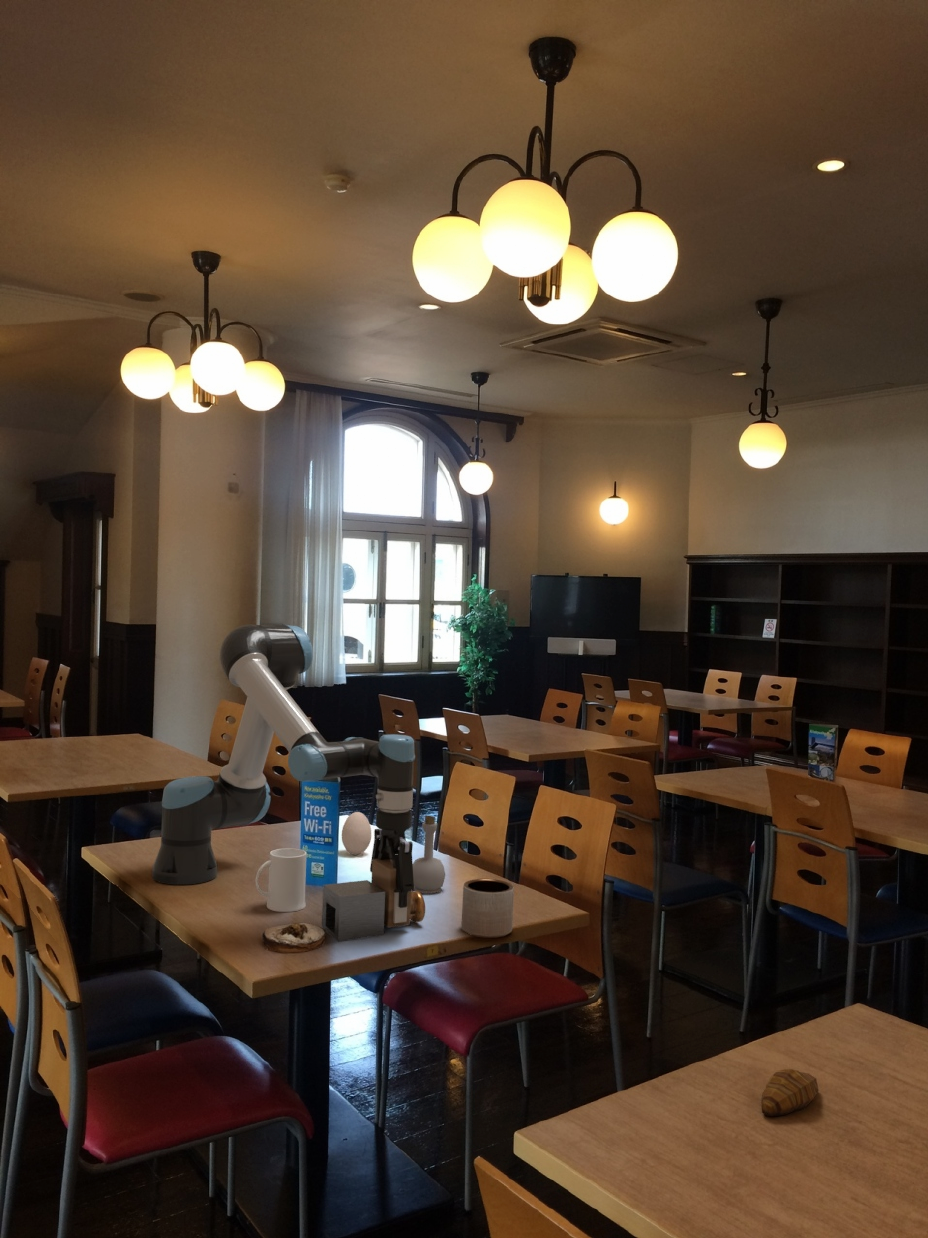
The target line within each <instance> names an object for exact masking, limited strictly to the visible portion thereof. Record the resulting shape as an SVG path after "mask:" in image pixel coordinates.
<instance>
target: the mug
mask: <svg viewBox="0 0 928 1238" xmlns="http://www.w3.org/2000/svg"><path fill="white" fill-rule="evenodd" d="M307 854H308V852H307V851H305V850H303V849H301V848H300V849H299V848H290V847H287V848H285V847H284V848H277V849H274V850H271V851H270V852H269V860H267V861H265V862H264V863H263V864H261V865H260V866H259V868H258V870H257V872H256V874H255V881H254V882H255V887H256V890H257V891H258V892H259V894H260V895H262V896H264V897H265V898H267V902H266V908H267V909H268V910H270V911H273V912H277V913H278V912H279V913H292V912H298V911H301V910H304V909H305V908H306V905H307V904H306V878H307V877H306V874H307V870H306V869H307ZM268 866H269V868H268V889H267V890H268V891H264V890H262V889H261V888H260V885H259V877H260V874H261V872H262V871H263V870H264V869H265V868H266V867H268Z"/></svg>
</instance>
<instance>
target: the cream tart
mask: <svg viewBox="0 0 928 1238" xmlns="http://www.w3.org/2000/svg"><path fill="white" fill-rule="evenodd" d="M261 938H262V941H263V945H265V946H266V947H267V948H266V949H265V950H266V951H275V952H277V953H301V952H302V953H305V952H307V951H314V950H315V949H318V948H320V947H323V946H324V945H325V940H326V939H325V938H326V931H325V930H324V929H322V927H321V926H318V925H314V924H312V923H307V922H295V923H287V924H279V925H278V924H277V925H272V926H268V927H267V928H265V931H263V932H262V937H261Z"/></svg>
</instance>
